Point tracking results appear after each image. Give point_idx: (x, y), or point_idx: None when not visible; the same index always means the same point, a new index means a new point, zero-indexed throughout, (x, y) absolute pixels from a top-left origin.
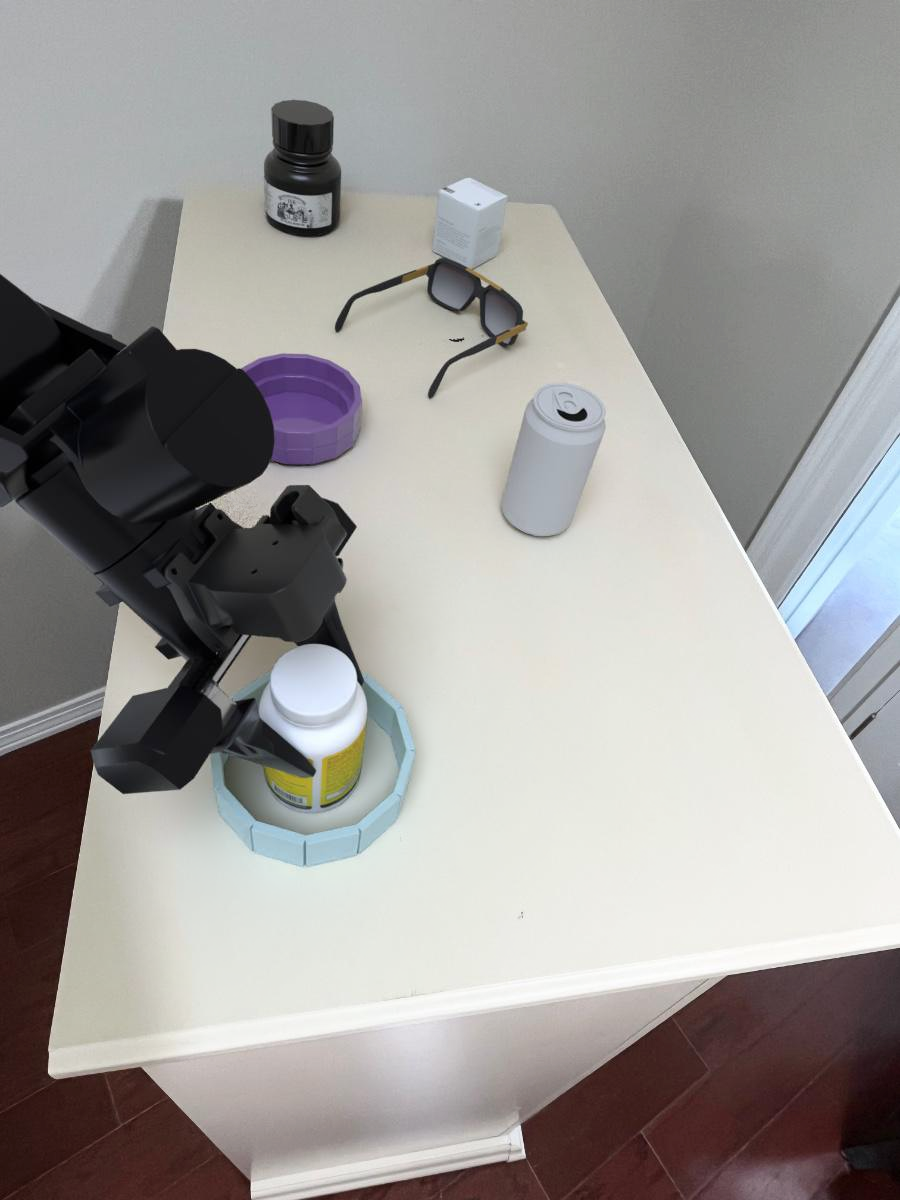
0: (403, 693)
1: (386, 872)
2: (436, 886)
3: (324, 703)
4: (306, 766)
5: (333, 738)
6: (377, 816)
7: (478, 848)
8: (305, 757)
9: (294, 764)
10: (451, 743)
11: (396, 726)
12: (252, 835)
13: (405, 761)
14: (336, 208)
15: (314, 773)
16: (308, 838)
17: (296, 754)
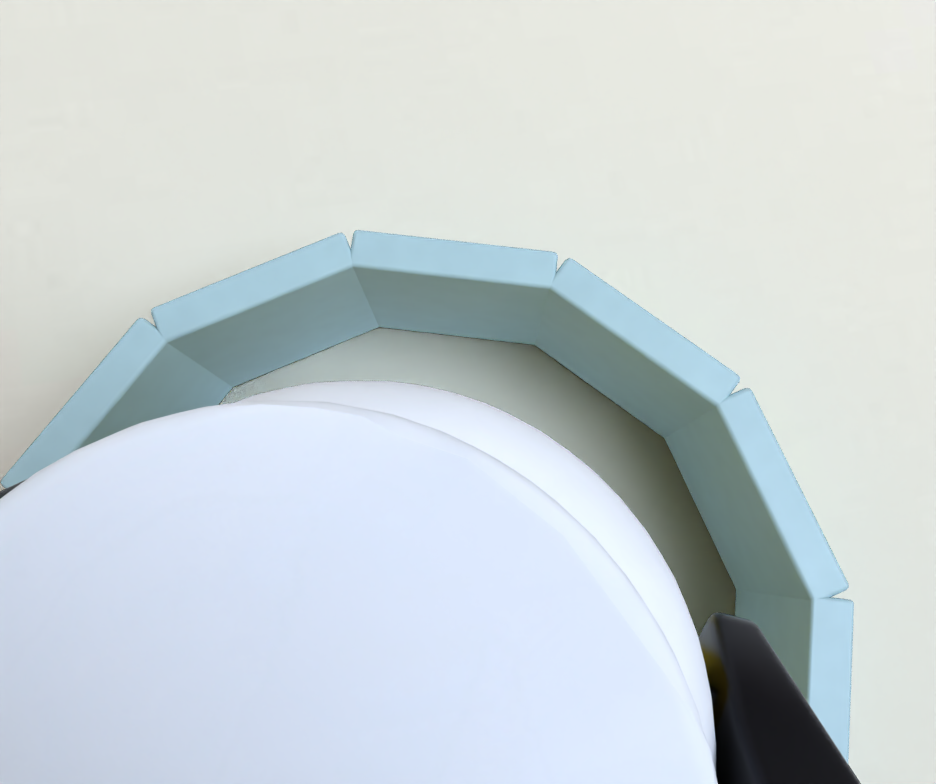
0: (46, 370)
1: (721, 321)
2: (730, 167)
3: (555, 674)
4: (770, 678)
5: (612, 542)
6: (667, 330)
7: (584, 60)
8: (739, 701)
9: (842, 767)
10: (230, 179)
11: (231, 336)
12: None
13: (406, 261)
14: None
15: (738, 619)
16: (823, 585)
17: (795, 776)
